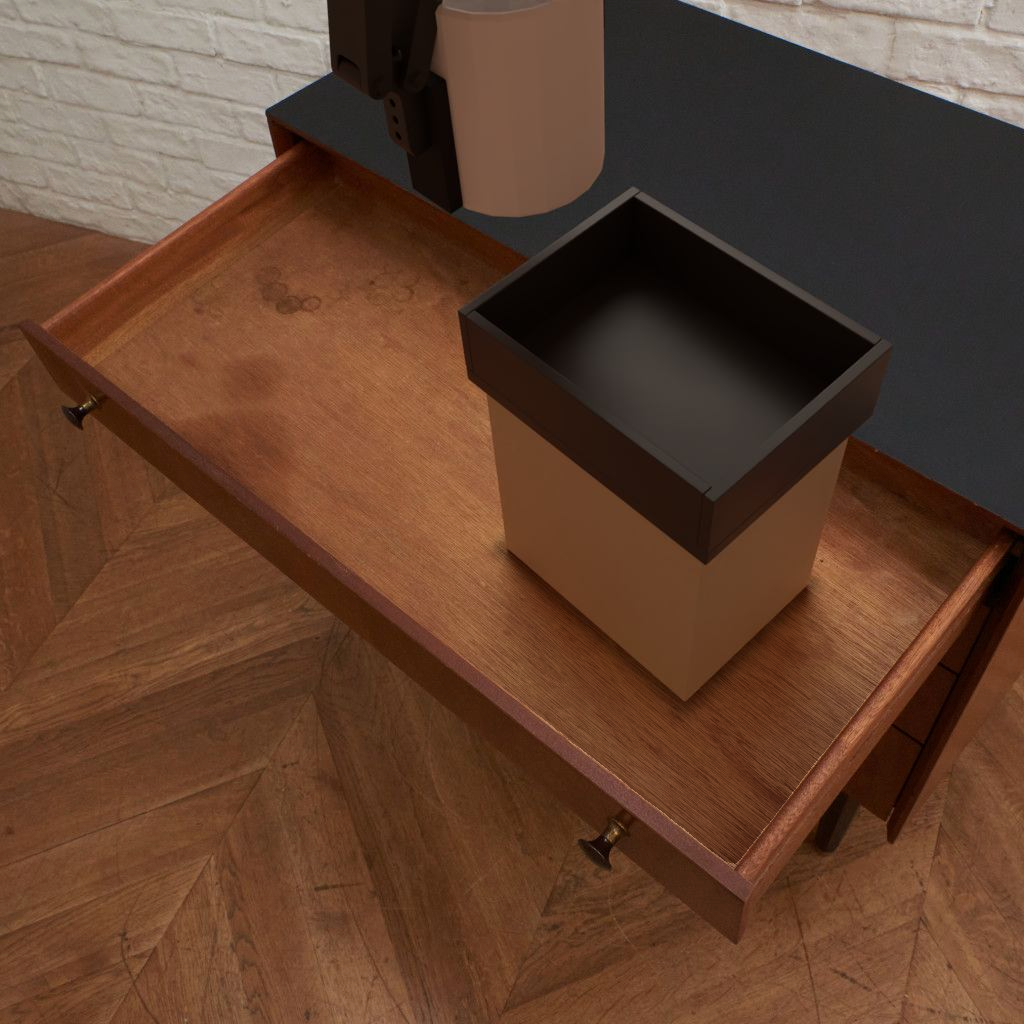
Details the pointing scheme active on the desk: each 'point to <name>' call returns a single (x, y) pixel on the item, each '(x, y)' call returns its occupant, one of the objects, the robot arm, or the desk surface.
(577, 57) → the mug
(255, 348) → the desk surface
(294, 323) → the desk surface
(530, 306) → the basket
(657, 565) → the stand
